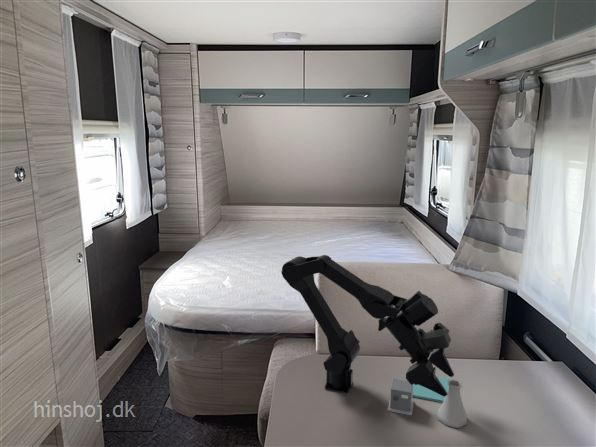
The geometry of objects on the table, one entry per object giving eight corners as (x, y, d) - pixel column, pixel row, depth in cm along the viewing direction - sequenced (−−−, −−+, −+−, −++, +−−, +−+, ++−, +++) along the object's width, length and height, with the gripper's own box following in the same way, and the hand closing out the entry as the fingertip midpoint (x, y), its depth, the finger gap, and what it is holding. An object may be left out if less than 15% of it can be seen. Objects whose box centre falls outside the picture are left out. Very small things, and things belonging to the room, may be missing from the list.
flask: (471, 417, 110) (475, 382, 108) (460, 432, 105) (463, 395, 103) (443, 405, 115) (446, 371, 113) (431, 419, 110) (434, 383, 107)
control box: (387, 410, 113) (388, 389, 112) (390, 397, 119) (391, 377, 117) (411, 415, 111) (413, 394, 110) (413, 401, 117) (415, 381, 115)
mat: (406, 395, 119) (406, 393, 119) (409, 374, 129) (410, 372, 129) (449, 403, 116) (449, 401, 116) (449, 380, 126) (449, 379, 126)
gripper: (422, 333, 99) (470, 391, 97) (438, 304, 115) (480, 352, 113) (386, 357, 105) (431, 412, 102) (407, 325, 121) (446, 372, 118)
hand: (449, 385), depth 109 cm, fingers open, 9 cm apart
